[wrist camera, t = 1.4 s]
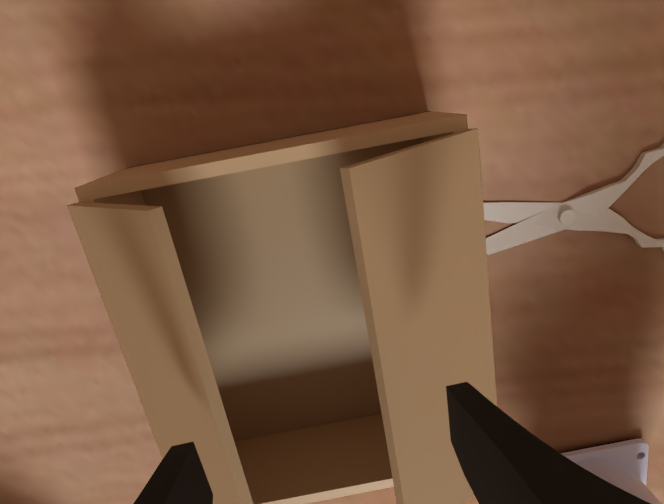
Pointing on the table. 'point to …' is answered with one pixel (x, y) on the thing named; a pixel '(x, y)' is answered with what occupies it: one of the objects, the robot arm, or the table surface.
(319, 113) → the table surface
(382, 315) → the flap
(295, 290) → the carton
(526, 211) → the scissors
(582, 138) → the table surface
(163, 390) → the flap
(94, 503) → the table surface
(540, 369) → the table surface
